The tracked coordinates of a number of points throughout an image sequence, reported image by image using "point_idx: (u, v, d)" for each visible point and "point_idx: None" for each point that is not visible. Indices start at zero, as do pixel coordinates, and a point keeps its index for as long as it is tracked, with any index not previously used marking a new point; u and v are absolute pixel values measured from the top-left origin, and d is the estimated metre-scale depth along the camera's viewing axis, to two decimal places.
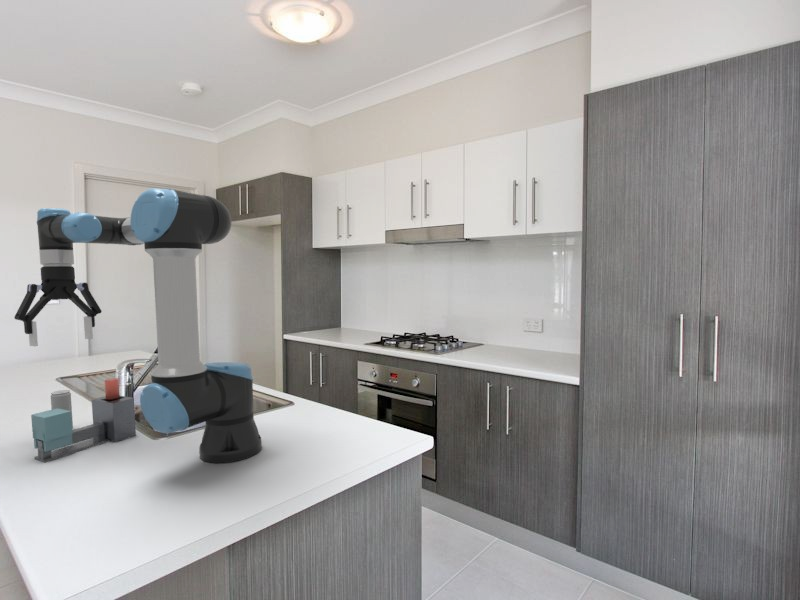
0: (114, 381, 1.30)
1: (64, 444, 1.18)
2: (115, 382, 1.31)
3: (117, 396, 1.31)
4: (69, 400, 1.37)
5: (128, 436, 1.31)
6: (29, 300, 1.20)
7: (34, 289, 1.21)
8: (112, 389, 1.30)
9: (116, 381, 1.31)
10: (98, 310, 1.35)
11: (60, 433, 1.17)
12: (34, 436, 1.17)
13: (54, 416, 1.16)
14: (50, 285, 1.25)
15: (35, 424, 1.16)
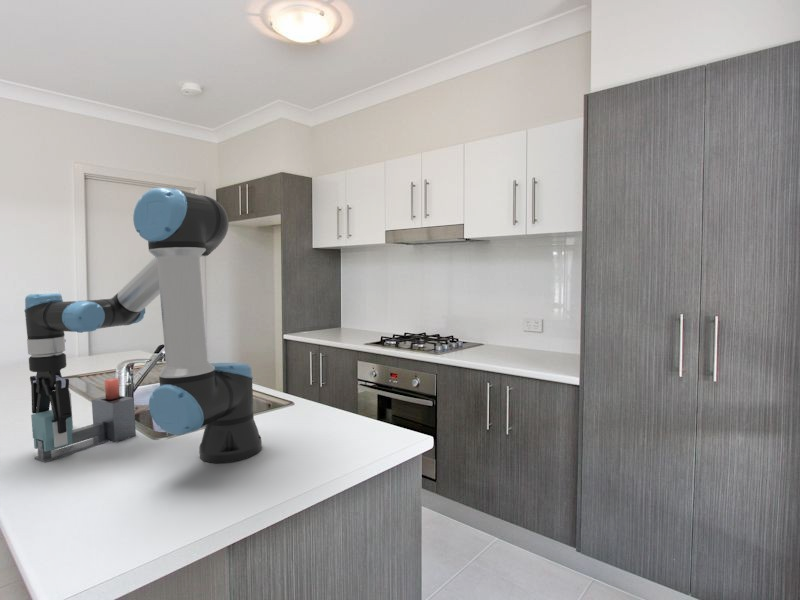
0: (114, 381, 1.30)
1: None
2: (115, 382, 1.31)
3: (117, 396, 1.31)
4: None
5: (128, 436, 1.31)
6: (32, 393, 1.19)
7: (31, 381, 1.19)
8: (112, 389, 1.30)
9: (116, 381, 1.31)
10: (59, 416, 1.14)
11: None
12: (34, 436, 1.17)
13: None
14: (38, 374, 1.18)
15: (35, 424, 1.16)
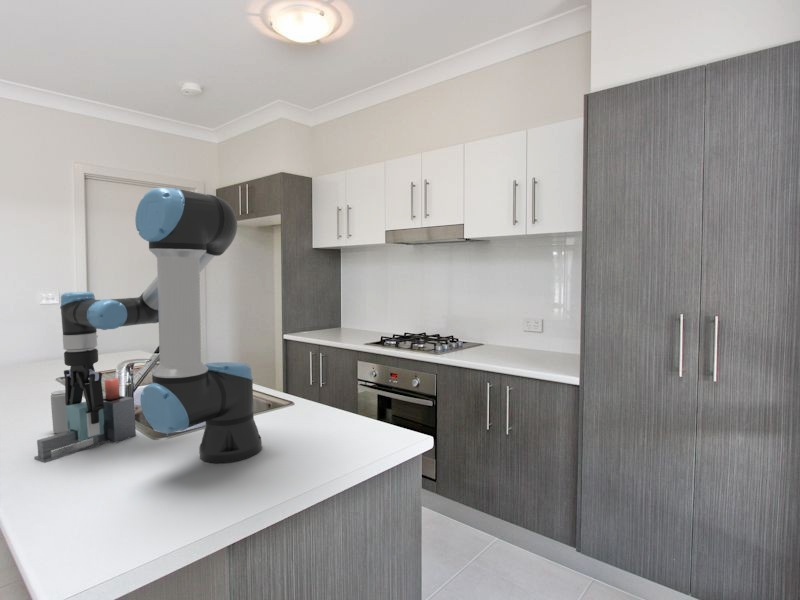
0: (114, 381, 1.30)
1: None
2: (115, 382, 1.31)
3: (117, 396, 1.31)
4: None
5: (128, 436, 1.31)
6: (66, 386, 1.26)
7: (65, 375, 1.26)
8: (112, 389, 1.30)
9: (116, 381, 1.31)
10: (92, 407, 1.21)
11: None
12: (68, 426, 1.24)
13: (87, 407, 1.23)
14: (71, 368, 1.25)
15: (70, 415, 1.23)
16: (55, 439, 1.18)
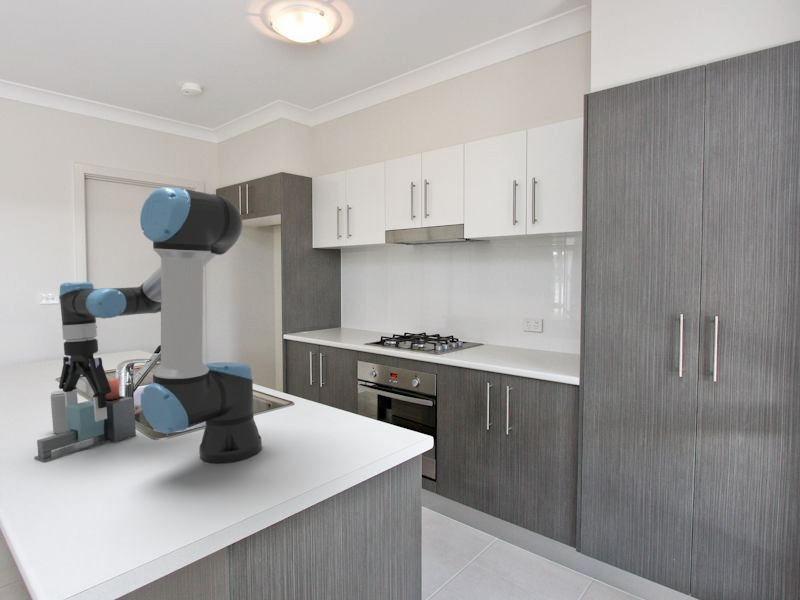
0: (114, 381, 1.30)
1: (96, 434, 1.25)
2: (115, 382, 1.31)
3: (117, 396, 1.31)
4: None
5: (128, 436, 1.31)
6: (62, 372, 1.27)
7: (64, 362, 1.26)
8: (112, 389, 1.30)
9: (116, 381, 1.31)
10: (99, 391, 1.19)
11: (93, 424, 1.24)
12: (69, 426, 1.24)
13: (88, 407, 1.23)
14: (72, 359, 1.24)
15: (70, 415, 1.23)
16: (55, 439, 1.18)
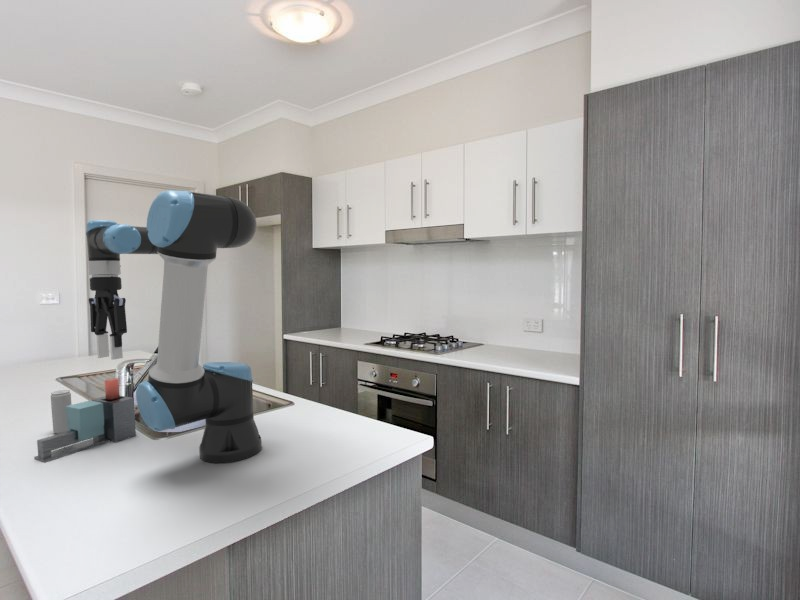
0: (114, 381, 1.30)
1: (96, 434, 1.25)
2: (115, 382, 1.31)
3: (117, 396, 1.31)
4: (69, 400, 1.37)
5: (128, 436, 1.31)
6: (91, 313, 1.32)
7: (90, 302, 1.32)
8: (112, 389, 1.30)
9: (116, 381, 1.31)
10: (116, 330, 1.27)
11: (93, 424, 1.24)
12: (69, 426, 1.24)
13: (88, 407, 1.23)
14: (96, 294, 1.30)
15: (70, 415, 1.23)
16: (55, 439, 1.18)
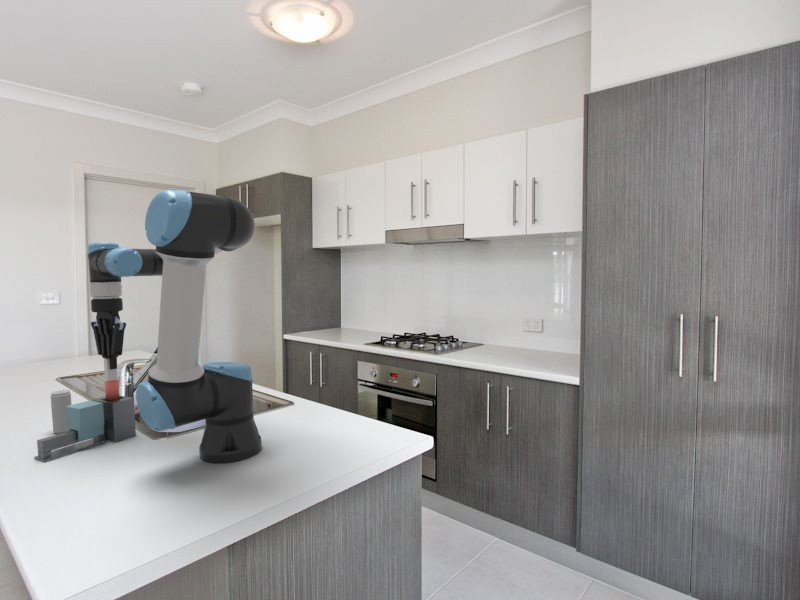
0: (114, 382, 1.30)
1: (96, 434, 1.25)
2: (115, 383, 1.31)
3: (117, 397, 1.31)
4: (69, 400, 1.37)
5: (128, 436, 1.31)
6: (95, 336, 1.32)
7: (93, 326, 1.32)
8: (112, 390, 1.30)
9: (116, 382, 1.31)
10: (112, 353, 1.28)
11: (93, 424, 1.24)
12: (69, 426, 1.24)
13: (88, 407, 1.23)
14: (97, 315, 1.31)
15: (70, 415, 1.23)
16: (55, 439, 1.18)
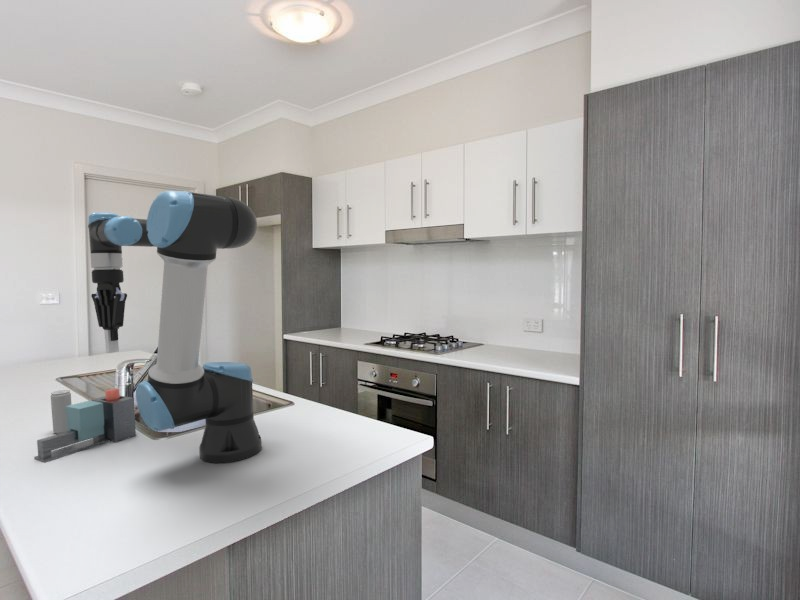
0: (115, 391, 1.31)
1: (96, 434, 1.25)
2: (116, 392, 1.31)
3: None
4: (69, 400, 1.37)
5: (128, 436, 1.31)
6: (96, 308, 1.31)
7: (93, 298, 1.31)
8: (112, 400, 1.30)
9: (117, 391, 1.31)
10: (113, 324, 1.28)
11: (93, 424, 1.24)
12: (69, 426, 1.24)
13: (88, 407, 1.23)
14: (98, 287, 1.30)
15: (70, 415, 1.23)
16: (55, 439, 1.18)
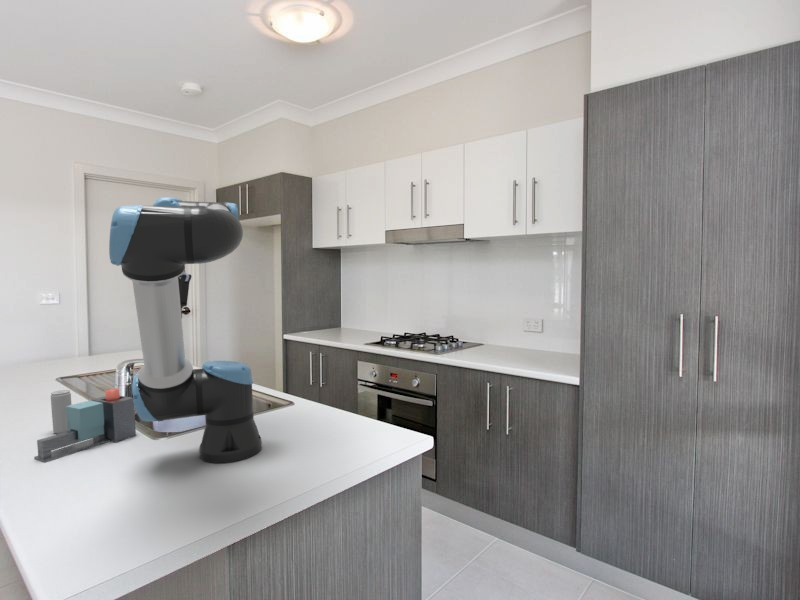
0: (115, 391, 1.31)
1: (96, 434, 1.25)
2: (116, 392, 1.31)
3: None
4: (69, 400, 1.37)
5: (128, 436, 1.31)
6: None
7: None
8: (112, 400, 1.30)
9: (117, 391, 1.31)
10: None
11: (93, 424, 1.24)
12: (69, 426, 1.24)
13: (88, 407, 1.23)
14: None
15: (70, 415, 1.23)
16: (55, 439, 1.18)
